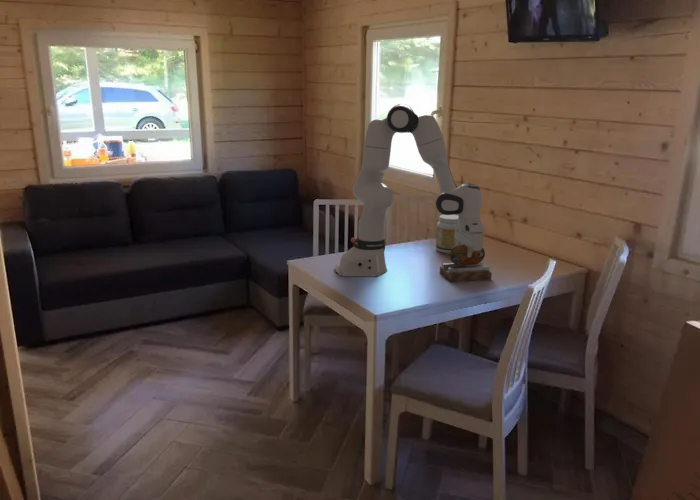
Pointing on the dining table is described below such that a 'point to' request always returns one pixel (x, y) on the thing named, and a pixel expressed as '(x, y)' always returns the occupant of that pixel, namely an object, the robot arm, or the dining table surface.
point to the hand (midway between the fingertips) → (466, 255)
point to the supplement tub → (446, 233)
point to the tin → (460, 256)
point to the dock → (465, 272)
